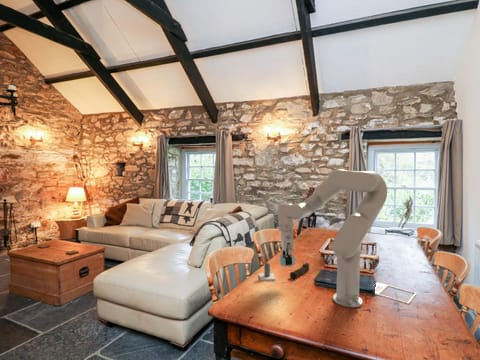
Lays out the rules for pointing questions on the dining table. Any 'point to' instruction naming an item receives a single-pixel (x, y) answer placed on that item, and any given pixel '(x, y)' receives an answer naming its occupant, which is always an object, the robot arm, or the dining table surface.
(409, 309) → the dining table surface
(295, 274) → the dark brown bar
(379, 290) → the photo frame
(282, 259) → the collar
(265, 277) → the grey peg on base
